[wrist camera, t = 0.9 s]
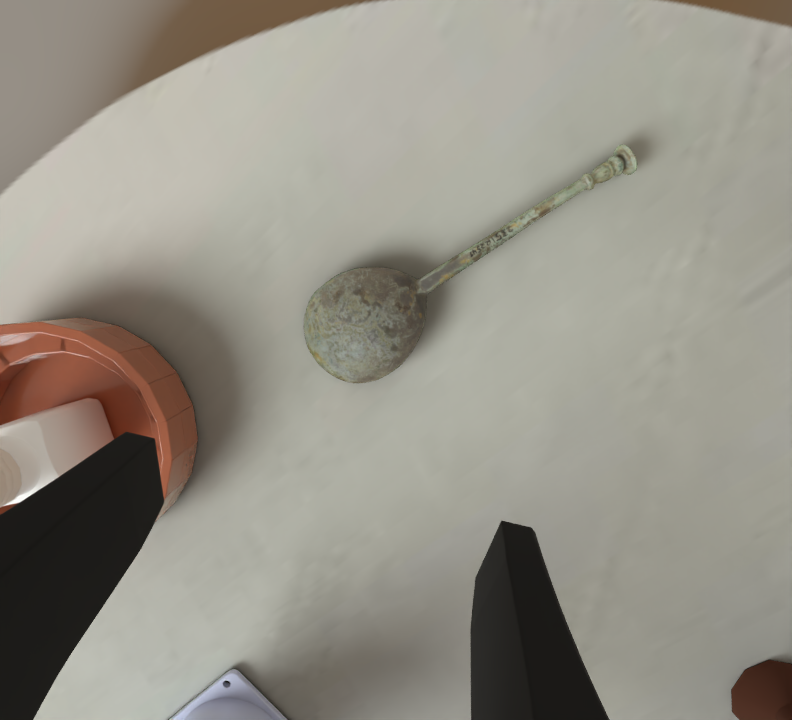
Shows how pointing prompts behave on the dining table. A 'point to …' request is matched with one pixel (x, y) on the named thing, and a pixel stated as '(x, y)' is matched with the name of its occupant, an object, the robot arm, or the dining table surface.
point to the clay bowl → (100, 386)
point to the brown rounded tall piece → (764, 692)
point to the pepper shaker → (48, 446)
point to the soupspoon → (407, 296)
